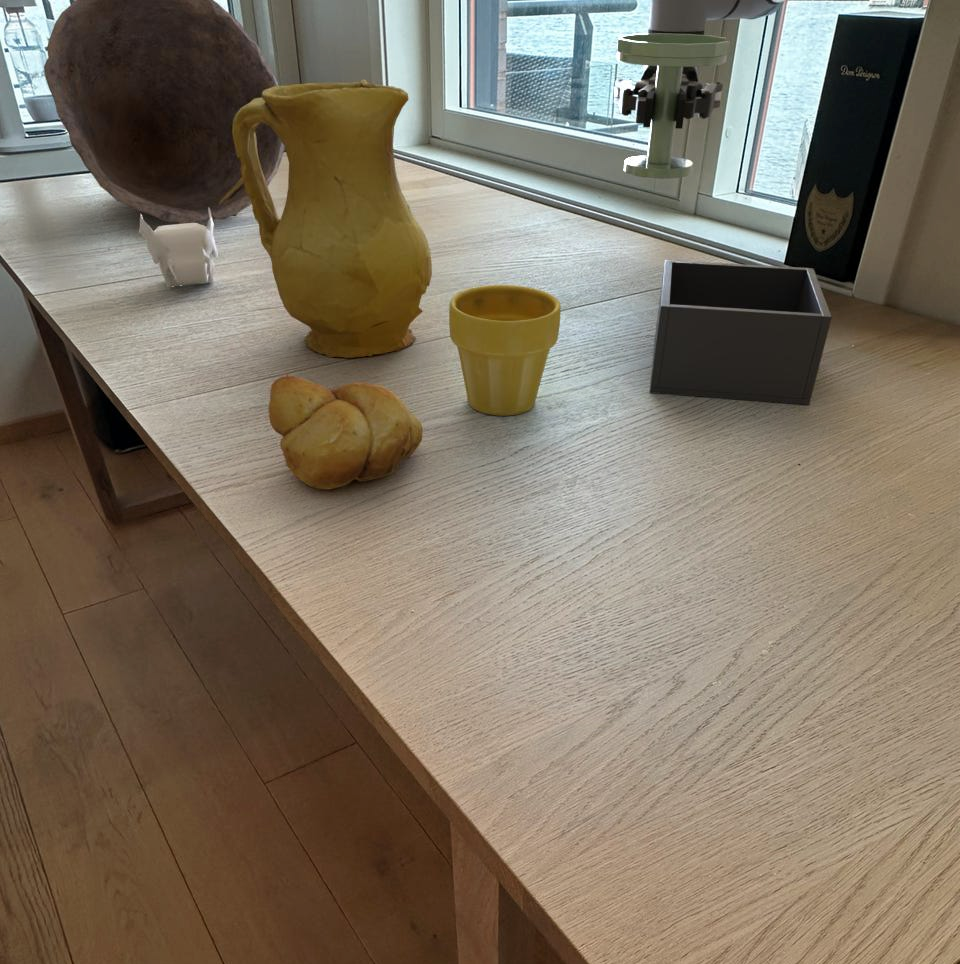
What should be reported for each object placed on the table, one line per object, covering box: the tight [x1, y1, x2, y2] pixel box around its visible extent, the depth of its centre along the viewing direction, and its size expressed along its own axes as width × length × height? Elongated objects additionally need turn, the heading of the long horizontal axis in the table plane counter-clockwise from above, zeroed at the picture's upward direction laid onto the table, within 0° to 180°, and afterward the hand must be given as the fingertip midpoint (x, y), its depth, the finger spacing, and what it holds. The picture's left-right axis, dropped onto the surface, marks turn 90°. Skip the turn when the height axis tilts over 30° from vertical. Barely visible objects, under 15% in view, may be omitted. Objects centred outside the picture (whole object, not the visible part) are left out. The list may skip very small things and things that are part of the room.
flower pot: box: [448, 284, 562, 417], centre depth 82 cm, size 10×10×10 cm
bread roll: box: [268, 374, 424, 490], centre depth 71 cm, size 13×10×8 cm
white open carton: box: [138, 207, 219, 288], centre depth 111 cm, size 10×12×9 cm
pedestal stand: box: [616, 33, 731, 180], centre depth 98 cm, size 12×12×13 cm
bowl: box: [43, 0, 285, 224], centre depth 142 cm, size 34×35×30 cm
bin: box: [649, 259, 833, 406], centre depth 89 cm, size 16×16×9 cm
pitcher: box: [232, 79, 433, 359], centre depth 91 cm, size 17×19×25 cm
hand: (664, 113), depth 94 cm, fingers closed on pedestal stand, 3 cm apart
